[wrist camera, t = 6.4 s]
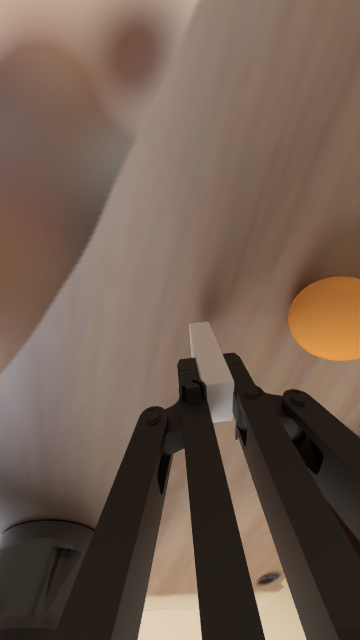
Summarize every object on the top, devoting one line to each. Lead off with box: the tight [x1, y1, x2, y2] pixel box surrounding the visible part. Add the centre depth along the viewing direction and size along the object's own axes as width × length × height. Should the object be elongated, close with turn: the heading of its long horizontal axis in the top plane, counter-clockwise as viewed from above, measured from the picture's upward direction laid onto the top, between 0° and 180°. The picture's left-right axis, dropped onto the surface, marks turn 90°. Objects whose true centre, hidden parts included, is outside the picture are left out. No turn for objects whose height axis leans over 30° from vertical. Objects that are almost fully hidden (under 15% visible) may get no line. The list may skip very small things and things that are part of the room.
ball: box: [288, 276, 360, 361], centre depth 15 cm, size 6×6×6 cm
